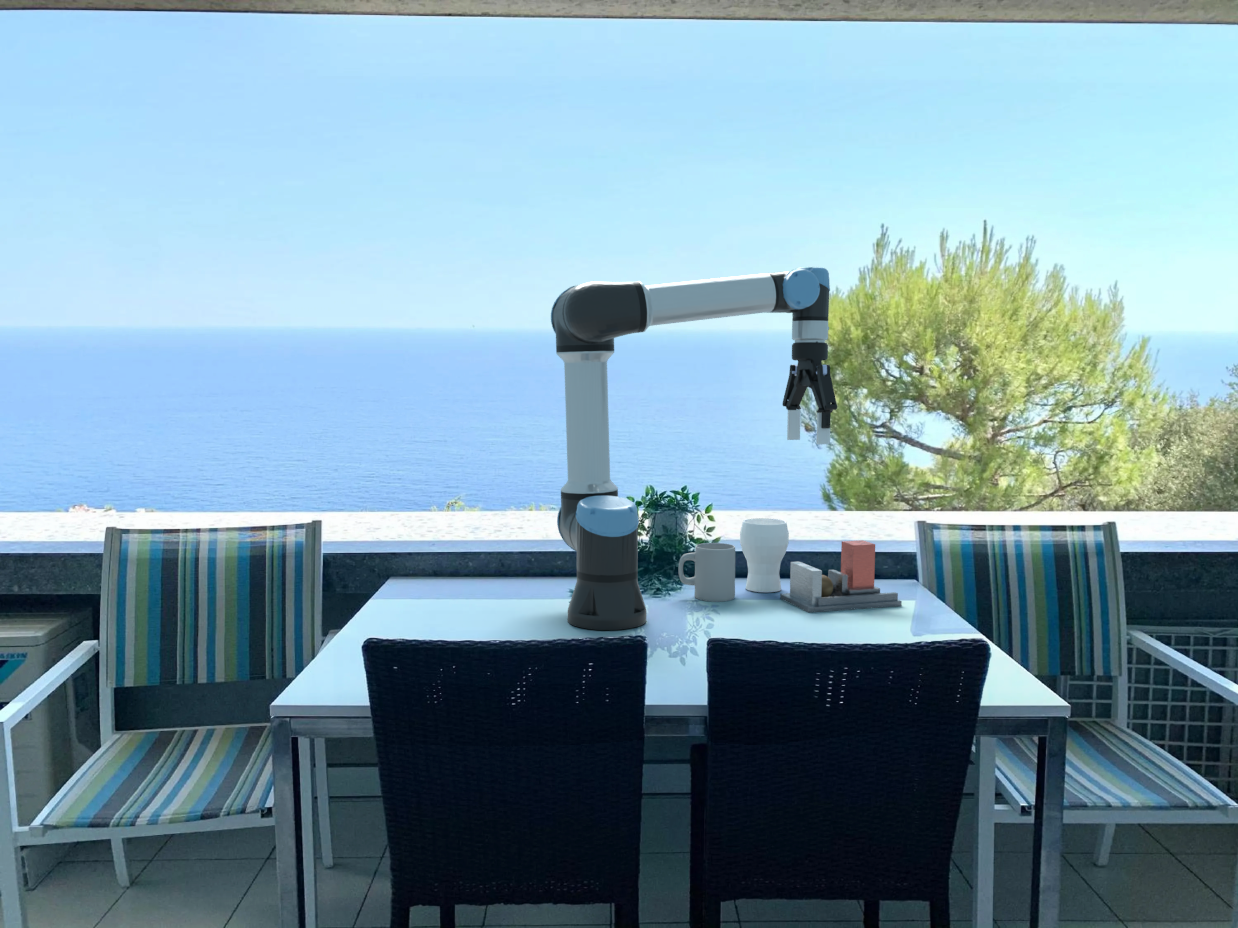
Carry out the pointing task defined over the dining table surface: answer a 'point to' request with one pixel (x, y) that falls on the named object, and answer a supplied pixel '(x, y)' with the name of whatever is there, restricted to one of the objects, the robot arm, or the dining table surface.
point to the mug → (711, 571)
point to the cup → (764, 552)
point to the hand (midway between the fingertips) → (807, 442)
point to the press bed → (809, 595)
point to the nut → (826, 586)
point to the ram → (855, 570)
